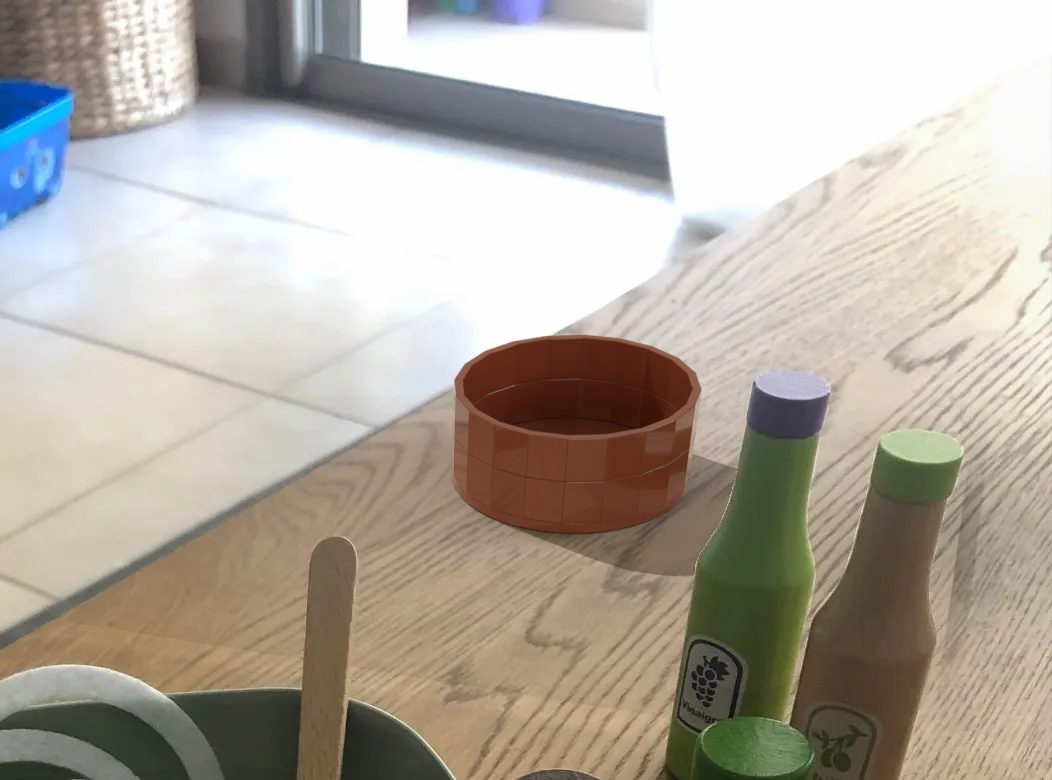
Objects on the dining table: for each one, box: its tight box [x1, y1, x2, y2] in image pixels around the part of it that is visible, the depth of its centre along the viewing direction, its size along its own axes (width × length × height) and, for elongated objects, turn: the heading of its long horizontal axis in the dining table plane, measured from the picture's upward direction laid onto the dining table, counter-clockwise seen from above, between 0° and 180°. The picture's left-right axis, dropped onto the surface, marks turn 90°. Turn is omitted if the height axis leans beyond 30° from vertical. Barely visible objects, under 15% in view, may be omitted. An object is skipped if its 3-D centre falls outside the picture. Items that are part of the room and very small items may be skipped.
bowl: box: [451, 334, 703, 534], centre depth 93 cm, size 14×14×6 cm
